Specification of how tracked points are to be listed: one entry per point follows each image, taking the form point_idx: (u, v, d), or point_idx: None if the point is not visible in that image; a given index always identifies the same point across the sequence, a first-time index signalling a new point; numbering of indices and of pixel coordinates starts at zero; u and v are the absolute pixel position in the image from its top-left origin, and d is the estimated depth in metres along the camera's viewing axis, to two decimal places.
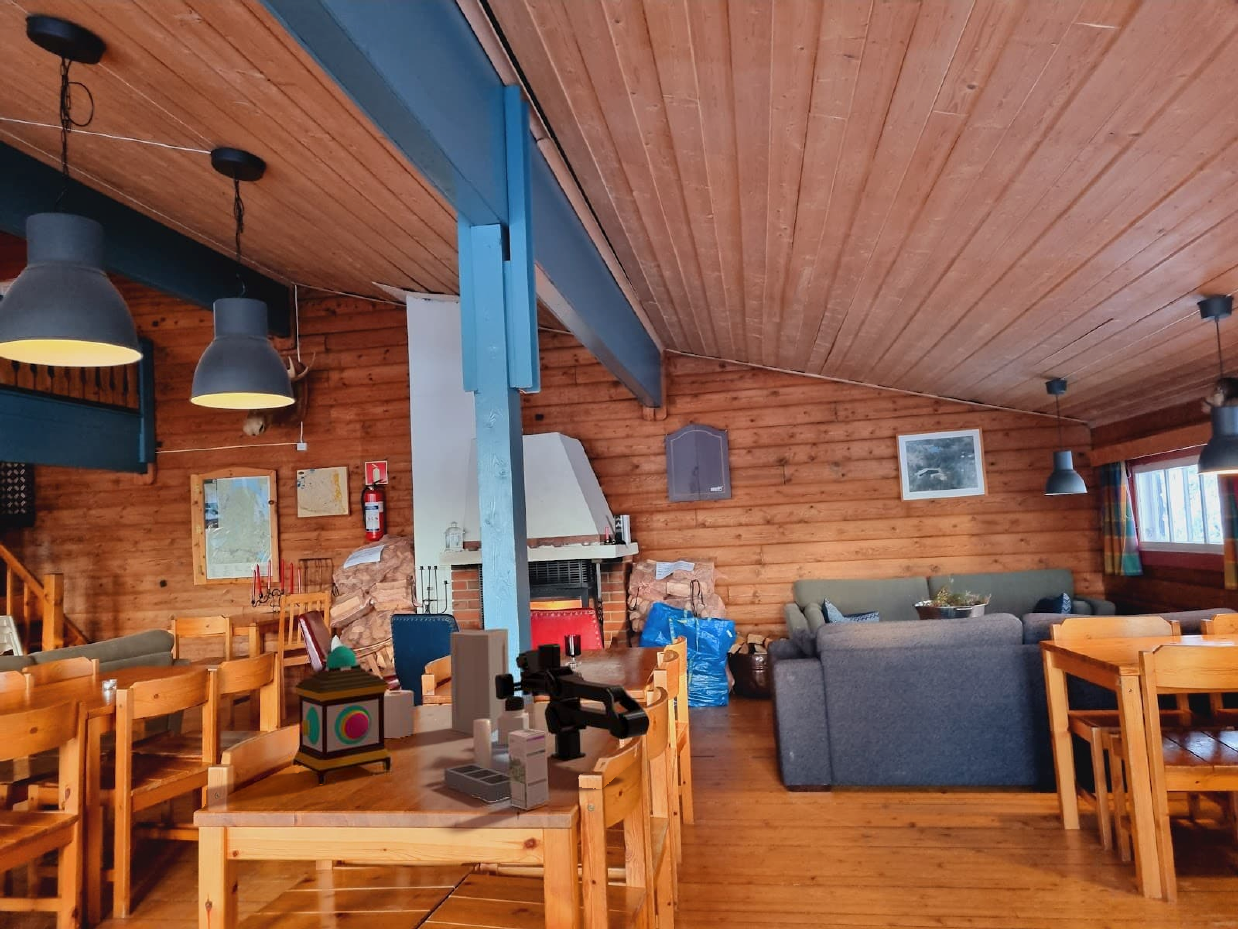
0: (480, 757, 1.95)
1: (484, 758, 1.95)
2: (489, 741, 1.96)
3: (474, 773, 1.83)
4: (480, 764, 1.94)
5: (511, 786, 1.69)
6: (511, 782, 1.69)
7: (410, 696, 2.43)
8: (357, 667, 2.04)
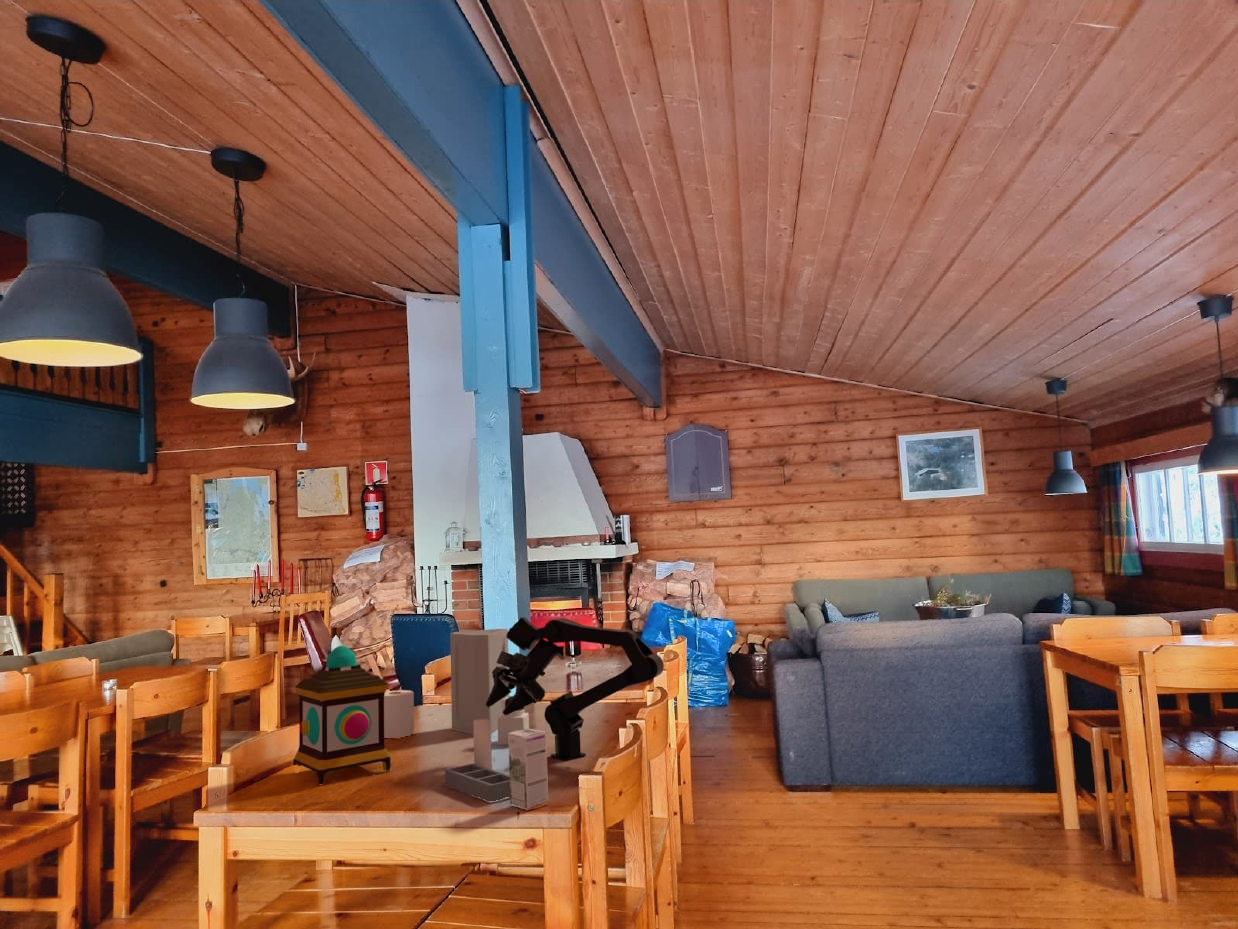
0: (479, 757, 1.95)
1: (484, 758, 1.95)
2: (489, 741, 1.96)
3: (474, 773, 1.83)
4: (480, 764, 1.94)
5: (511, 786, 1.69)
6: (511, 782, 1.69)
7: (410, 696, 2.43)
8: (357, 667, 2.04)
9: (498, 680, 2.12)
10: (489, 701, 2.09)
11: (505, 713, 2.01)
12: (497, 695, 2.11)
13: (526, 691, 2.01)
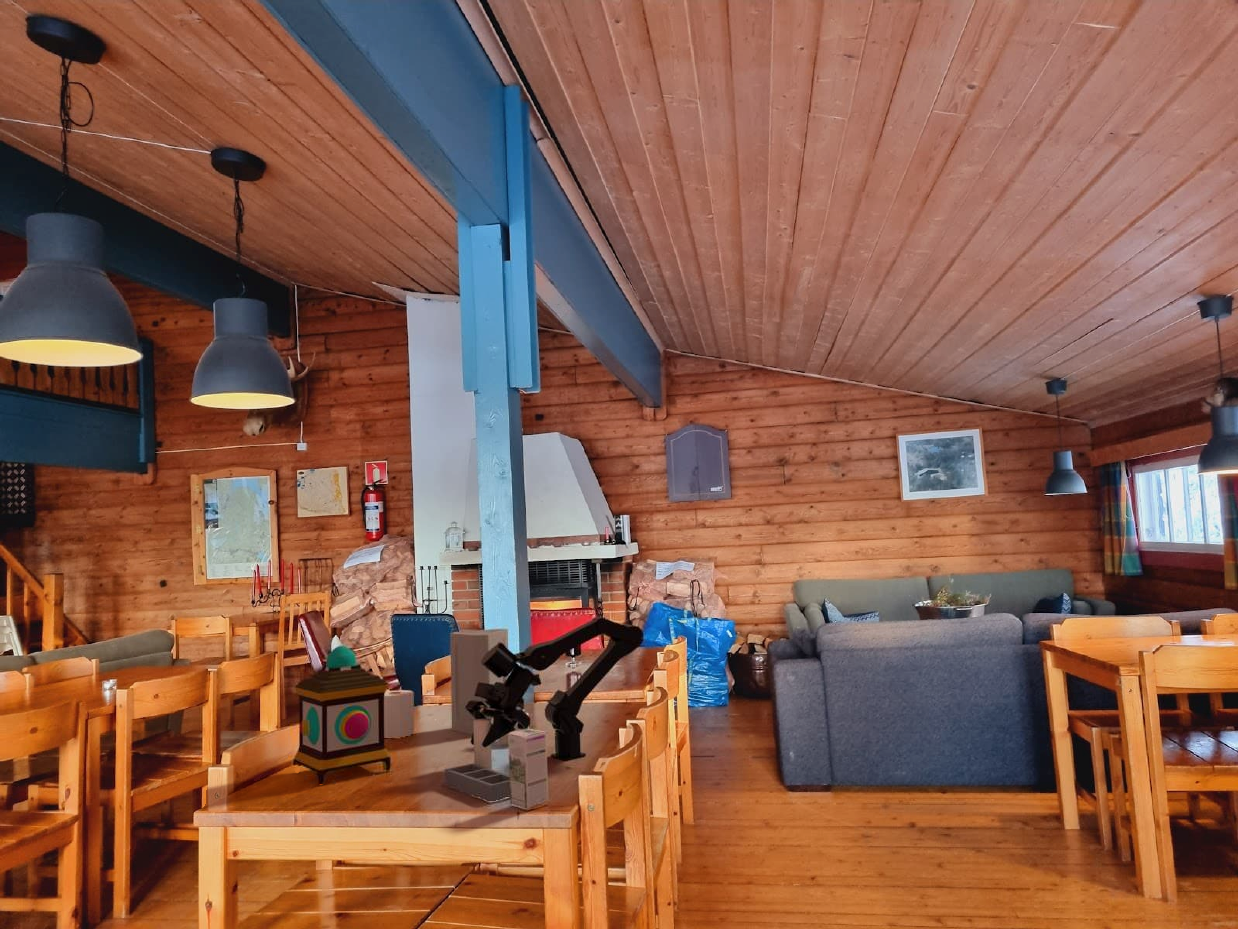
0: (479, 757, 1.95)
1: (484, 758, 1.95)
2: None
3: (474, 773, 1.83)
4: (480, 764, 1.94)
5: (511, 786, 1.69)
6: (511, 783, 1.69)
7: (410, 696, 2.43)
8: (357, 667, 2.04)
9: (481, 715, 2.00)
10: None
11: (485, 745, 1.94)
12: None
13: (505, 719, 1.95)
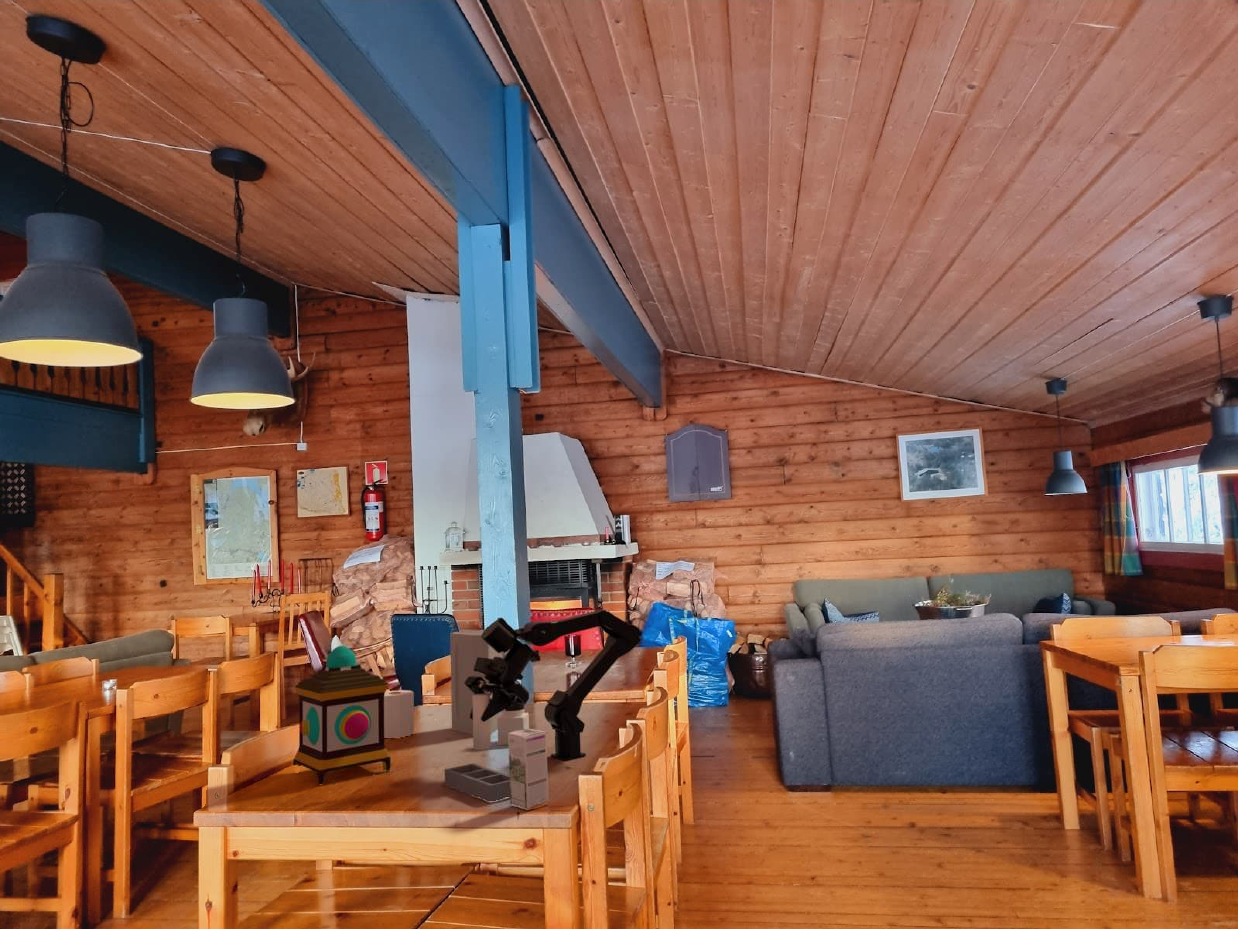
0: (478, 731, 1.94)
1: (483, 732, 1.94)
2: None
3: (474, 773, 1.83)
4: (479, 738, 1.94)
5: (511, 786, 1.69)
6: (511, 782, 1.69)
7: (410, 696, 2.43)
8: (357, 667, 2.04)
9: (480, 690, 2.00)
10: None
11: (483, 719, 1.94)
12: None
13: (504, 694, 1.95)
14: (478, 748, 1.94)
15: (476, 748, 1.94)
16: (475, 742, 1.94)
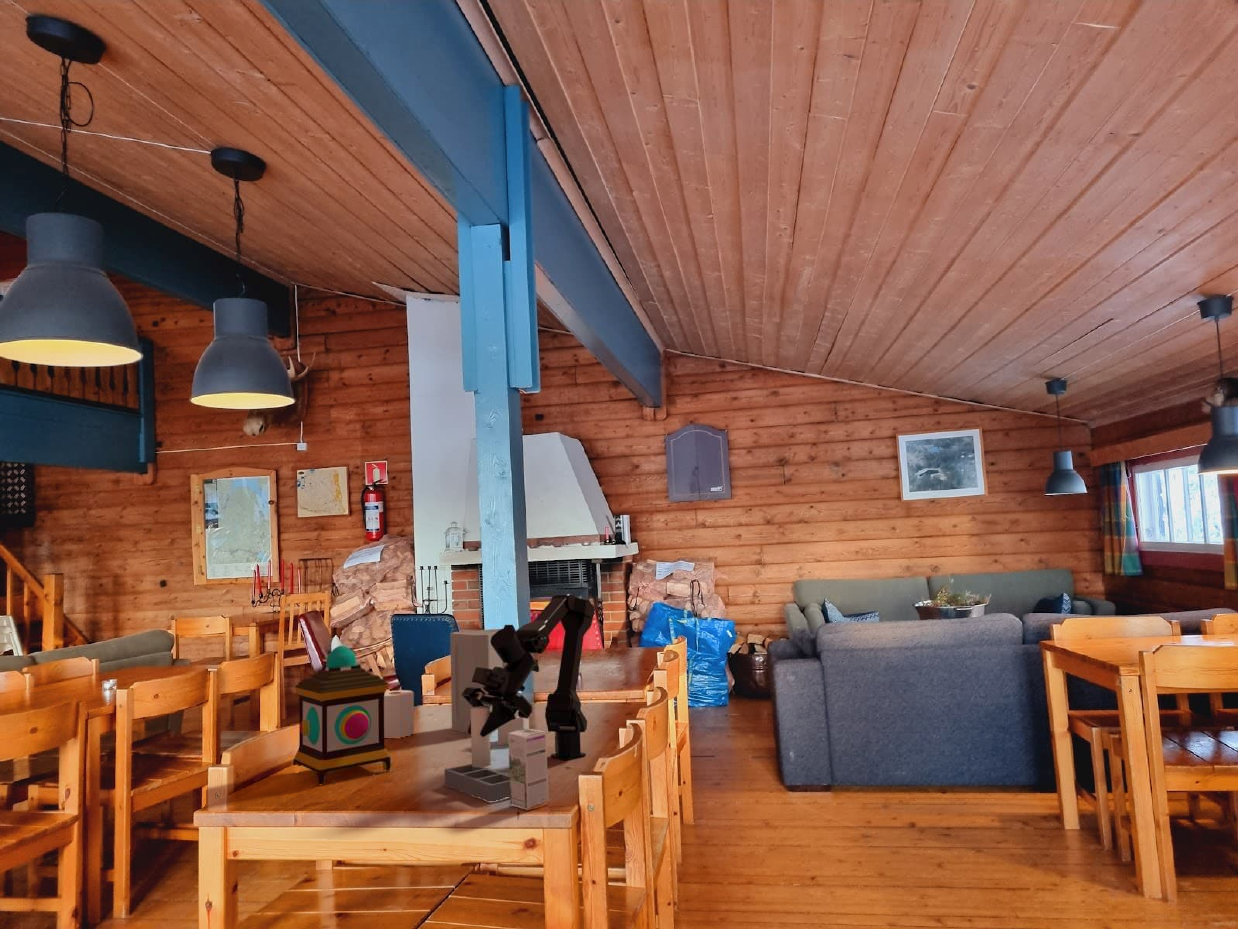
0: (477, 747, 1.80)
1: (482, 748, 1.80)
2: None
3: (474, 773, 1.83)
4: (478, 755, 1.80)
5: (511, 786, 1.69)
6: (511, 782, 1.69)
7: (410, 696, 2.43)
8: (357, 667, 2.04)
9: (478, 702, 1.86)
10: None
11: (483, 734, 1.80)
12: None
13: (505, 707, 1.81)
14: (477, 765, 1.80)
15: (475, 765, 1.80)
16: (474, 759, 1.80)
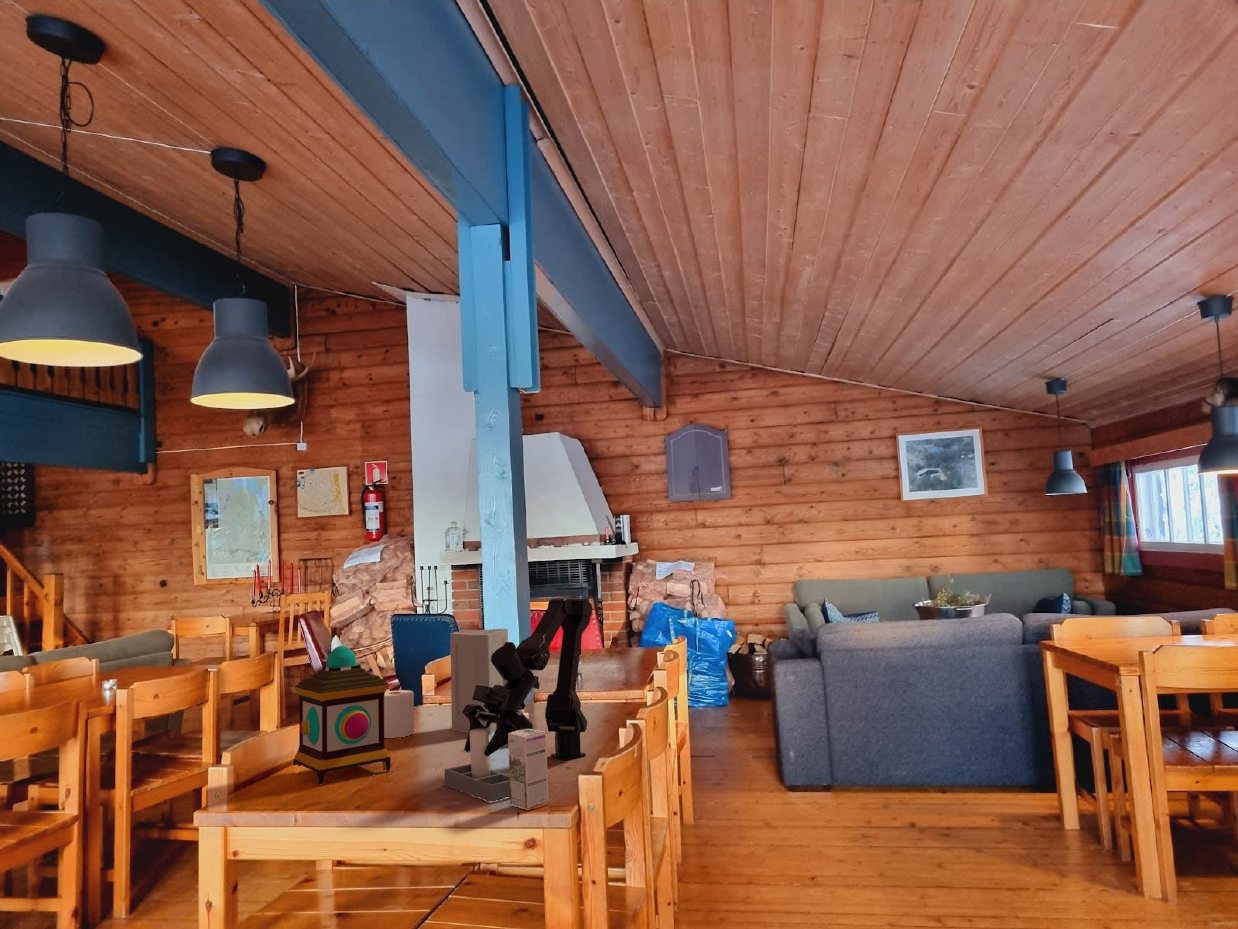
0: (477, 771, 1.79)
1: (482, 771, 1.80)
2: None
3: None
4: None
5: (511, 786, 1.69)
6: (511, 782, 1.69)
7: (410, 696, 2.43)
8: (357, 667, 2.04)
9: (475, 720, 1.86)
10: (468, 745, 1.84)
11: (487, 754, 1.79)
12: None
13: (509, 726, 1.80)
14: None
15: None
16: None
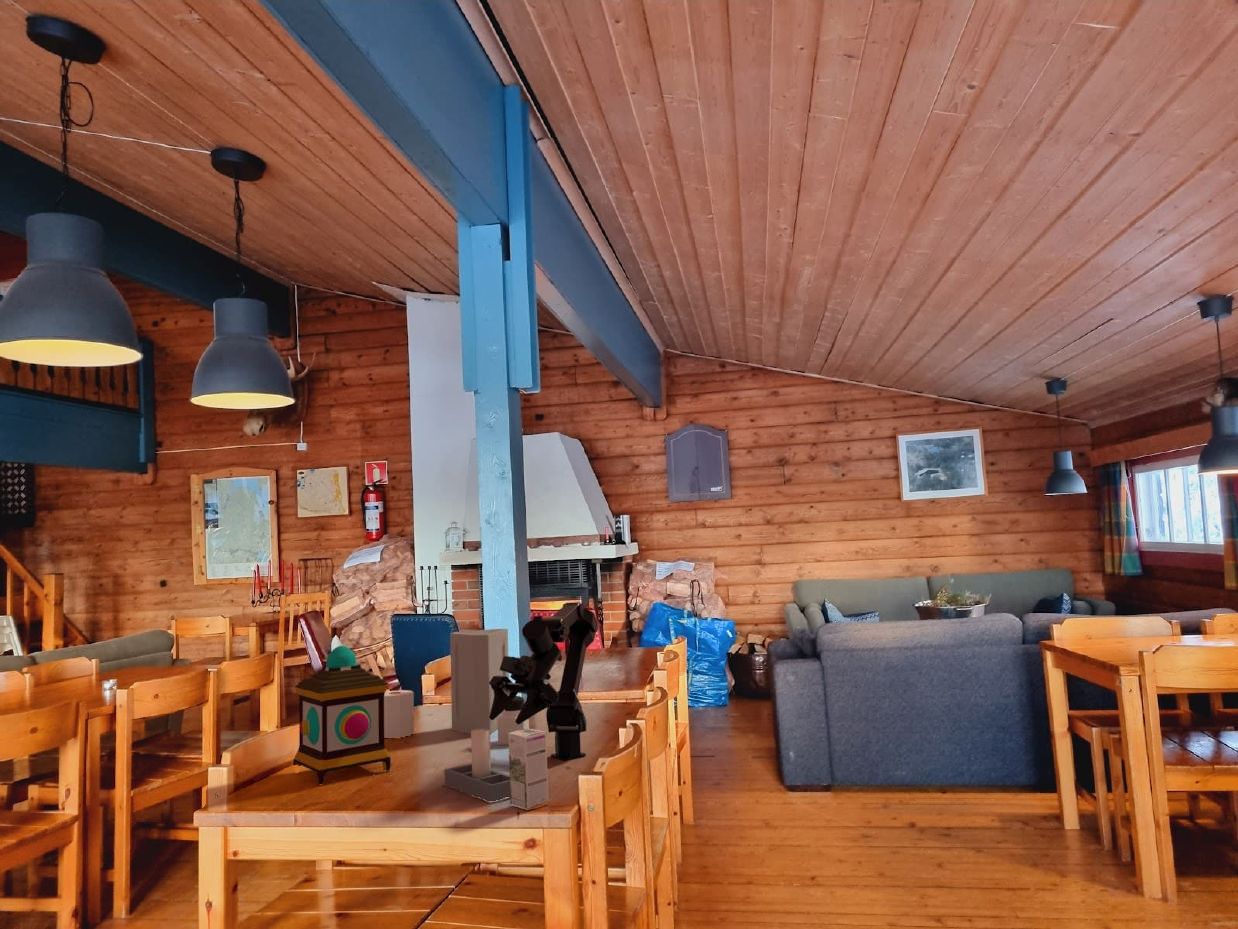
0: (478, 771, 1.80)
1: (483, 771, 1.80)
2: (488, 753, 1.81)
3: None
4: None
5: (511, 786, 1.69)
6: (511, 782, 1.69)
7: (410, 696, 2.43)
8: (357, 667, 2.04)
9: (499, 689, 1.94)
10: (493, 713, 1.91)
11: (518, 722, 1.84)
12: (500, 706, 1.93)
13: (540, 695, 1.85)
14: None
15: None
16: None
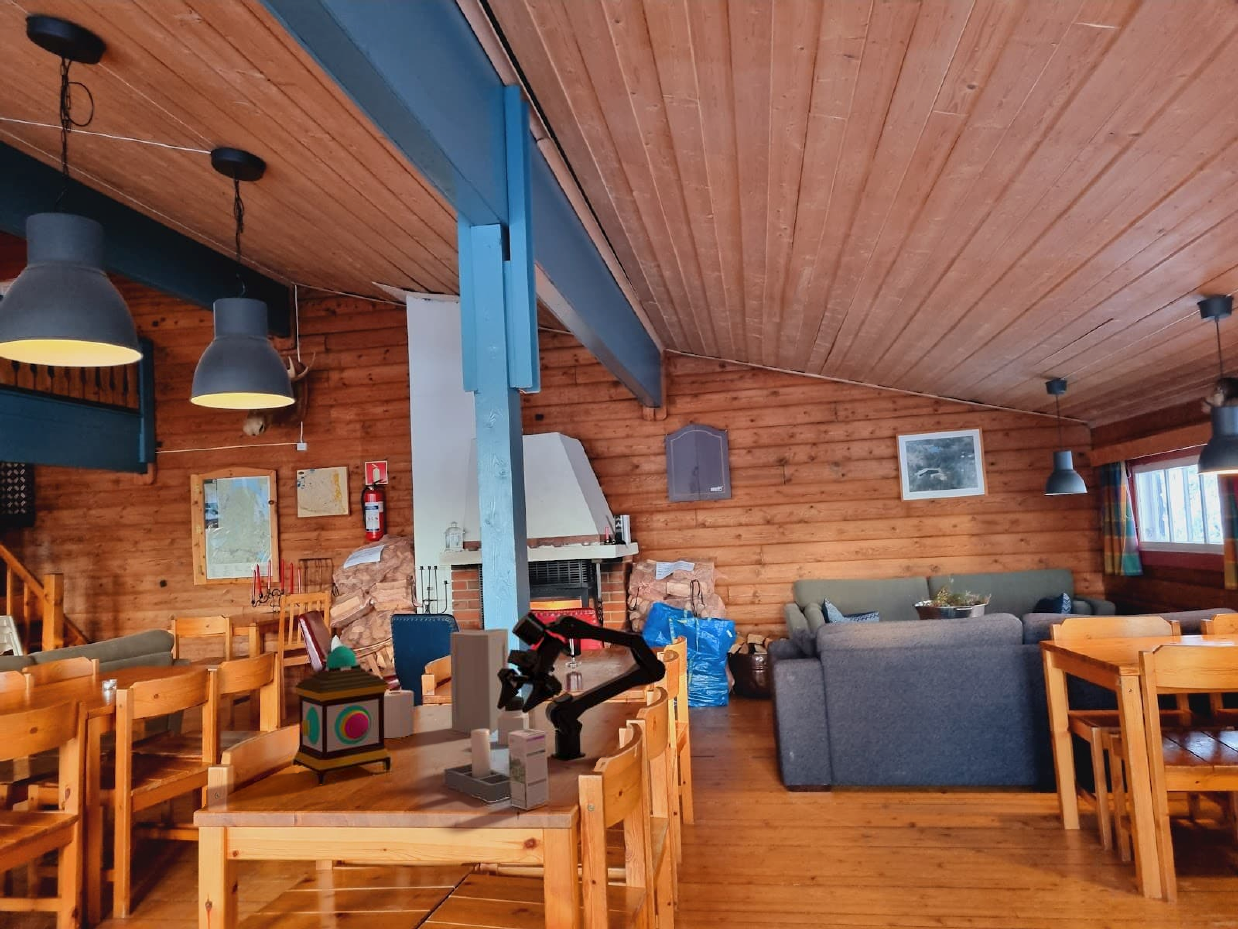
0: (478, 771, 1.80)
1: (483, 771, 1.80)
2: (488, 753, 1.81)
3: None
4: None
5: (511, 786, 1.69)
6: (511, 782, 1.69)
7: (410, 696, 2.43)
8: (357, 667, 2.04)
9: (507, 681, 2.06)
10: (500, 703, 2.04)
11: (524, 711, 1.97)
12: (507, 696, 2.06)
13: (545, 686, 1.98)
14: None
15: None
16: None
